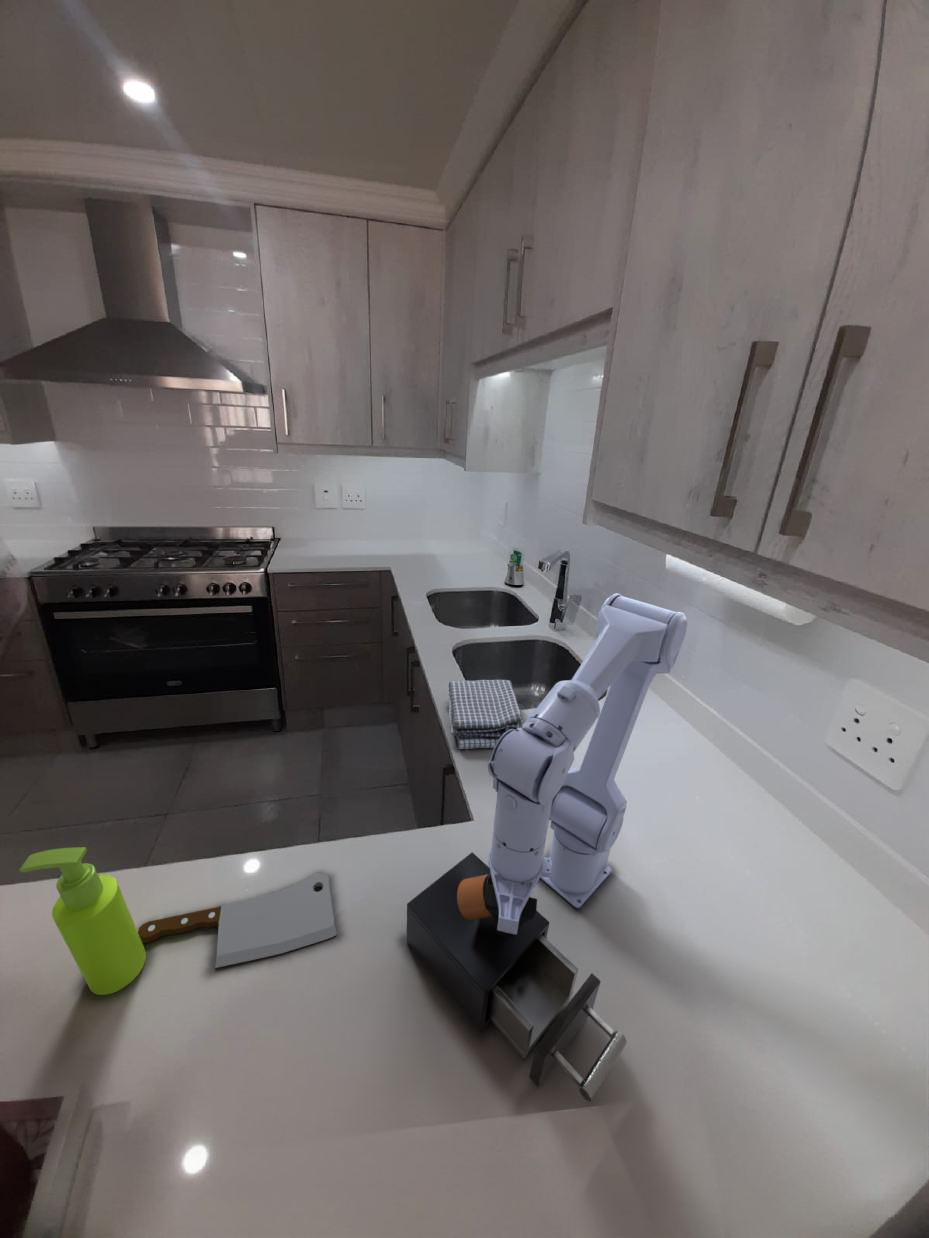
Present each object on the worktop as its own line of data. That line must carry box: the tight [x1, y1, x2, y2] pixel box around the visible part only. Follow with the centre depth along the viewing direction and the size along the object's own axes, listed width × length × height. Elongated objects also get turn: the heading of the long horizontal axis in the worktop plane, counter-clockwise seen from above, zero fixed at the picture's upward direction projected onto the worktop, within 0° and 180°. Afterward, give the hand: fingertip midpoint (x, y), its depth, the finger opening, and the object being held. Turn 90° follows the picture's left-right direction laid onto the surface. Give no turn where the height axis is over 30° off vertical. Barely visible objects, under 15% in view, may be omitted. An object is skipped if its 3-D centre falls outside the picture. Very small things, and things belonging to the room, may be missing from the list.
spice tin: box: [457, 874, 493, 920], centre depth 58 cm, size 4×4×4 cm
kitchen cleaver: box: [137, 871, 338, 969], centre depth 64 cm, size 24×1×10 cm
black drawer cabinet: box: [406, 851, 550, 1033], centre depth 62 cm, size 14×12×8 cm
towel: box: [448, 679, 524, 750], centre depth 106 cm, size 15×18×8 cm
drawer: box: [486, 934, 628, 1103], centre depth 55 cm, size 17×10×6 cm, turn 44°
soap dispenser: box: [18, 846, 147, 996], centre depth 55 cm, size 6×7×20 cm
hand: (508, 913), depth 58 cm, fingers closed on spice tin, 4 cm apart
